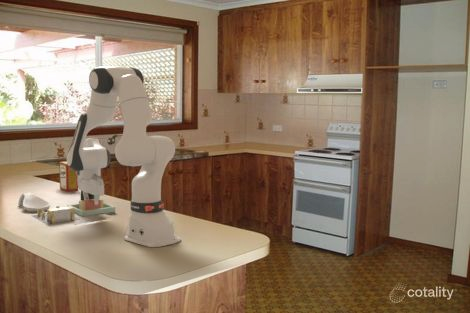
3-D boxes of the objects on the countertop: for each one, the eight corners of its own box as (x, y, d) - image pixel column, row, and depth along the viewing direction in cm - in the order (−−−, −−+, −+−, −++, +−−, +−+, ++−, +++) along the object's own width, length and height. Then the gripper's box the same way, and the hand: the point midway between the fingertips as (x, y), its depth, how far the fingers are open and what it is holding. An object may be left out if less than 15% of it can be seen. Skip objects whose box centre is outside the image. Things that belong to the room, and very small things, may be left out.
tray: (115, 213, 220) (115, 206, 220) (82, 218, 209) (82, 211, 209) (99, 206, 232) (99, 200, 231) (67, 211, 221) (67, 205, 221)
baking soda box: (78, 190, 271) (77, 162, 269) (67, 191, 267) (66, 163, 265) (70, 187, 278) (70, 160, 276) (59, 188, 274) (59, 161, 272)
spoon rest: (55, 212, 220) (54, 197, 219) (29, 216, 211) (28, 201, 211) (34, 203, 236) (34, 189, 235) (9, 207, 228) (9, 192, 227)
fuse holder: (80, 221, 204) (80, 207, 203) (47, 227, 195) (47, 212, 194) (62, 213, 218) (62, 200, 217) (31, 217, 209) (30, 204, 208)
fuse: (103, 209, 222) (103, 199, 222) (83, 213, 216) (82, 202, 215) (99, 208, 225) (99, 198, 225) (79, 211, 219) (78, 200, 218)
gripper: (107, 175, 213) (108, 205, 215) (87, 169, 228) (88, 198, 230) (94, 176, 209) (95, 207, 210) (74, 170, 224) (75, 199, 225)
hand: (91, 202), depth 220 cm, fingers open, 8 cm apart
